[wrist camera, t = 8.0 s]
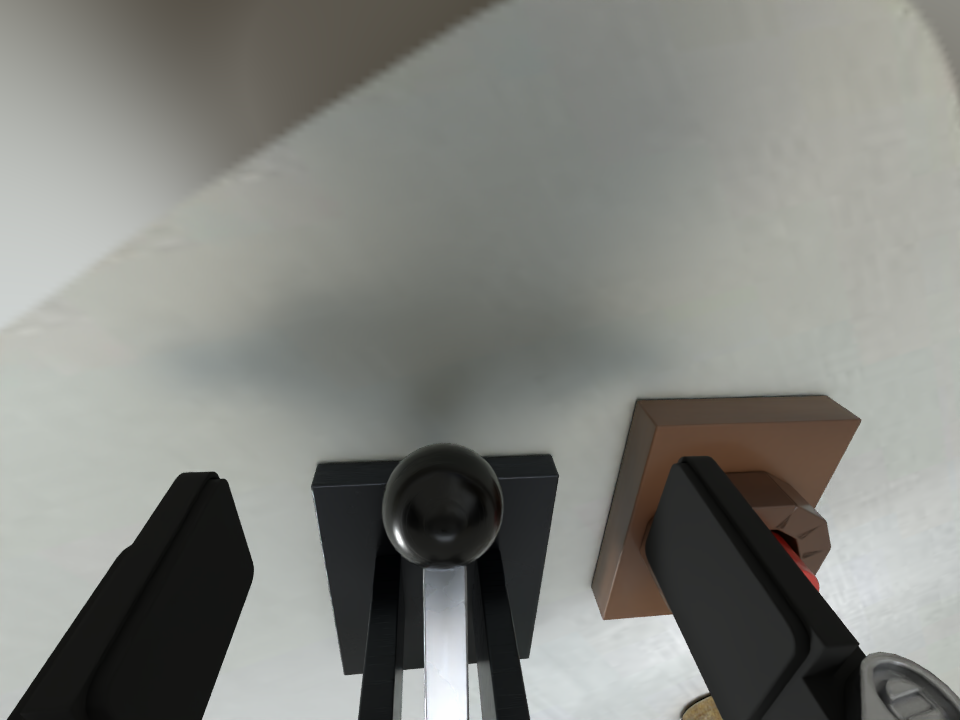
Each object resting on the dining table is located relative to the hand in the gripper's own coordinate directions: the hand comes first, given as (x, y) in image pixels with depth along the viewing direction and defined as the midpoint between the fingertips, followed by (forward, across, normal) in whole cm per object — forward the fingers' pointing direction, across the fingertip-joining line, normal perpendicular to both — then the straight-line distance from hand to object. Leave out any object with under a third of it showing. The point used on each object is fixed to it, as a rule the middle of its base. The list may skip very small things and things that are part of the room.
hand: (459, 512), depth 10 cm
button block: (+6, -11, +7) cm, 15 cm away
